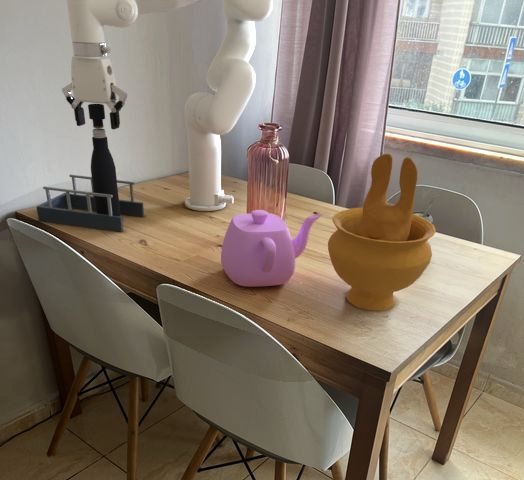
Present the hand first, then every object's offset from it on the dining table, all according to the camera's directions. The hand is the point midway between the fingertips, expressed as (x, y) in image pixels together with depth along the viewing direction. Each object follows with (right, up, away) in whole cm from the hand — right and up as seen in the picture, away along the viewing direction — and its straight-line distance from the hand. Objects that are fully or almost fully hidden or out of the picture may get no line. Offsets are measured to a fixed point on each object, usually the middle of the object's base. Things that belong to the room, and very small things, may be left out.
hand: (98, 126), depth 140 cm
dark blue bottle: (-1, -21, +13) cm, 25 cm away
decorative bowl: (+66, -46, -22) cm, 83 cm away
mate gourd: (+84, -29, +8) cm, 89 cm away
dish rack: (-5, -20, +14) cm, 25 cm away
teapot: (+42, -40, -13) cm, 59 cm away
